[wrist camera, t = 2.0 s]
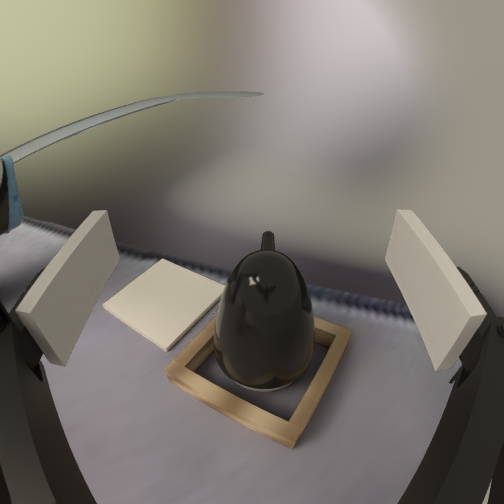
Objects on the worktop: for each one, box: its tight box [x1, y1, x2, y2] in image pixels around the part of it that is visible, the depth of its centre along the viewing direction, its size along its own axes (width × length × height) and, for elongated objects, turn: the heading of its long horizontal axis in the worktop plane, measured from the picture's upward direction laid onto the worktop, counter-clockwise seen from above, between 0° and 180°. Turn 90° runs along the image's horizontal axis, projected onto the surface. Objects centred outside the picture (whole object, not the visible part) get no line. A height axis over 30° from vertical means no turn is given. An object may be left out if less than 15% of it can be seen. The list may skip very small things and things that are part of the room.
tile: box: [103, 259, 225, 351], centre depth 41 cm, size 13×13×1 cm
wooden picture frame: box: [165, 316, 352, 449], centre depth 32 cm, size 15×15×2 cm
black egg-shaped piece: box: [214, 231, 315, 392], centre depth 28 cm, size 10×10×15 cm
